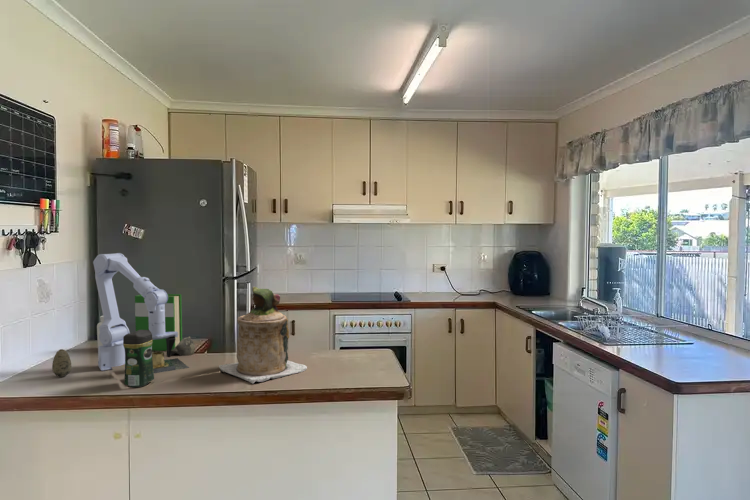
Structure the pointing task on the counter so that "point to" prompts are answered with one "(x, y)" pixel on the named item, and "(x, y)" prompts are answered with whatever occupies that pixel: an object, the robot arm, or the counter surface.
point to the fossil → (184, 347)
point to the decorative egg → (61, 363)
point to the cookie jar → (263, 342)
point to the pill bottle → (99, 330)
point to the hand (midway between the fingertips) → (157, 358)
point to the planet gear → (158, 360)
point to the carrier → (171, 366)
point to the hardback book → (171, 319)
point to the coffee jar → (138, 358)
